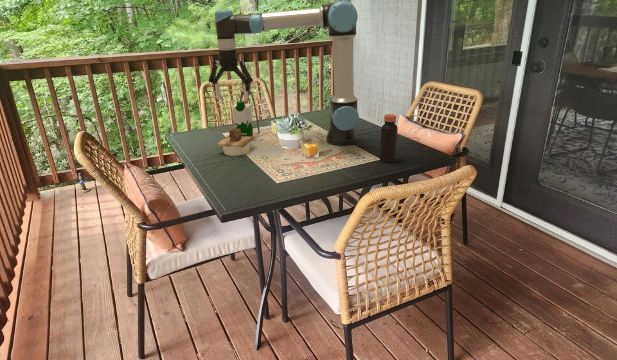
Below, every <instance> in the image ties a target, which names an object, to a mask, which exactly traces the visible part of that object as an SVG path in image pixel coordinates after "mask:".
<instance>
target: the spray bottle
mask: <svg viewBox="0 0 617 360" xmlns="http://www.w3.org/2000/svg"><path fill="white" fill-rule="evenodd" d="M244 76H245V75H244ZM245 77H246V76H245ZM244 84H245V83H244V82H243V81H242V80H241V88H242V90H241V91H240V96H239V101H243V97H244V88H243V85H244ZM251 88H252V82H251V83H249V89H250V90H249V91H248V99H246V101H247V102H248V103H247V104H251V101H250V97H251V100H252V105H253V109H254V113H255V118H256V119H255V121H256V125H257V134H258V135H259V134H260V133H261V132H260V123H259V122H260V121H259V116H258V115H259V114H258V110H257V106H256V100H255V96H254V94H253V90H252V89H251Z"/></svg>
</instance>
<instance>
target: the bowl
mask: <svg viewBox="0 0 617 360" xmlns="http://www.w3.org/2000/svg"><path fill="white" fill-rule="evenodd" d="M250 147H251V146H250V143H248V144H247V145H246V146H245V147H229V146H222V148H223V149H222V150H223V154H224V155H226V156H231V157H233V156H234V157H237V156H243V155H246V154H249V153H250V151H251V150H250V149H251V148H250Z"/></svg>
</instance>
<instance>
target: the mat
mask: <svg viewBox="0 0 617 360" xmlns="http://www.w3.org/2000/svg"><path fill="white" fill-rule="evenodd" d="M281 146H282V145H270V144H269V145H267V144H259V145H258V146H257V147H256V148H254V150H252V151H251V152H249V153H248V156H257V157H270V158H281V156H282V155H283V154H285V153H286V151H287V150H288V149H285V148H282V147H281Z"/></svg>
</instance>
